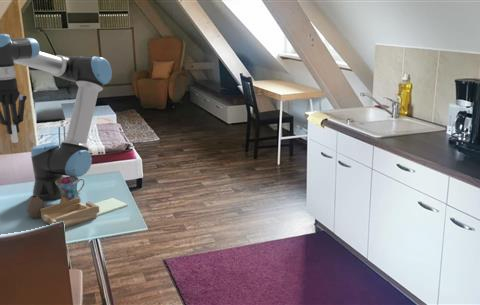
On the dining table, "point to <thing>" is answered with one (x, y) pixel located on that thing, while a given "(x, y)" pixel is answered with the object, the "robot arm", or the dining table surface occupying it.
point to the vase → (35, 207)
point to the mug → (68, 188)
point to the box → (68, 213)
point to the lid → (107, 205)
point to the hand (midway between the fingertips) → (15, 141)
